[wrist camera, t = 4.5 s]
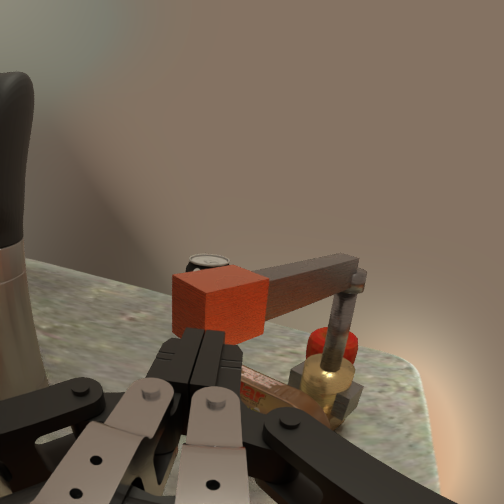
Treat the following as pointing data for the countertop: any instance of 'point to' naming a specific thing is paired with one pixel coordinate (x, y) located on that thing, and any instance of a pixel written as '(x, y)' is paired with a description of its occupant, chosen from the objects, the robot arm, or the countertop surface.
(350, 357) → the apple
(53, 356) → the countertop surface
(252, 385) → the tin
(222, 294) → the valve lever
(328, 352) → the valve base
